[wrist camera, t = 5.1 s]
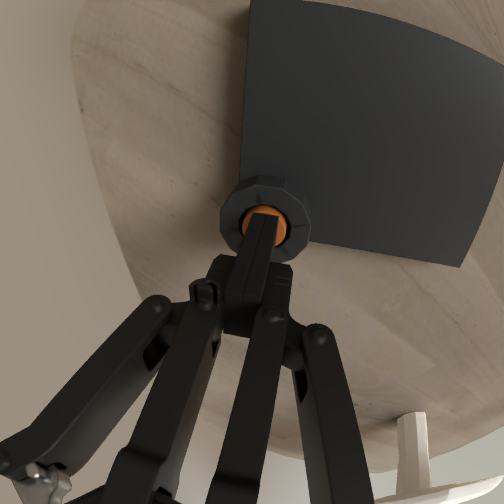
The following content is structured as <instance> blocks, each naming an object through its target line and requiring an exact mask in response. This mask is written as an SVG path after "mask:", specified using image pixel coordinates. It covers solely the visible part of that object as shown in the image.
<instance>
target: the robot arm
mask: <svg viewBox="0 0 504 504" xmlns="http://www.w3.org/2000/svg"><path fill="white" fill-rule="evenodd" d="M278 221H279V216H276V215H269V214H262V213H256V212H253V213H252V216H251V219H250V221H249V224H248V227H247V229H246V232H245V235H244V237H243V240H242V243H241V245H240V248H239V251H238V253H237V256H236V257H235V256H229V255H223V254H220V255H219V256H217V257H216V258H215V259H214V260H213V262H212V264H211V267H210V269H209V271H208V273H207V275H206V277H205V278H201V279H197V280H195V281H193V282H192V283H191V284H190V285H189V293H190V300H189V301H186V302H177V303H171V302H170V300H169V299H168V298H167V297H166V296H163V295H153V296H150V297H148V298H146V299H145V300H144V301H143V302H142V303H141V304H140V305H139V306H138V307H137V308H136V309H135V310H134V311H133V312H132V314H130V315H129V317H128V318H126V320H125V321H124V322H123V323H122V324H121V325H120V326H119V327H118V328H117V329H116V330H115V331H114V332H113V333H112V334H111V335H110V336H109V337H108V338H107V340H106V341H105V342H104V343H103V344H102V345H101V346H100V347H99V348H98V349H97V350H96V352H94V354H93V355H92V356H91V357H90V358H89V359H88V360H87V361H86V362H85V363H84V365H82V367H81V368H80V369H79V370H78V371H77V372H76V373H75V374H74V375H73V377H72V378H71V379H70V380H69V381H68V382H67V383H66V384H65V386H64V387H63V388H62V389H61V390H60V391H59V392H58V393H57V395H56V396H55V397H54V398H53V399H52V400H51V402H50V403H49V404H48V405H47V406H46V407H45V409H44V410H43V411H42V412H41V413H40V414H39V416H38V417H37V418H36V419H35V420H34V421H33V422H32V424H31V425H30V426H29V427H27V428H25V429H23V430H22V431H20V432H18V433H16V434H14V435H13V436H11V437H9V438H7V439H5V440H3V441H1V442H0V474H1V475H3V476H5V477H7V478H9V479H11V481H12V483H13V485H14V487H15V489H16V491H17V493H18V495H19V497H20V499H21V501H22V502H23V504H61V503H62V499H63V497H64V496H65V495H66V494H67V493H68V492H69V491H71V489H72V484H71V482H70V478H69V477H71V476H72V475H74V474H75V473H77V472H78V471H79V470H80V469H81V468H82V467H83V466H84V465H85V464H86V463H87V462H88V461H89V459H90V458H91V457H92V456H93V454H94V453H95V452H96V450H97V449H98V448H99V446H100V445H101V444H102V443H103V441H104V440H105V439H106V438H107V436H108V435H109V434H110V432H111V431H112V429H114V427H115V426H116V425H117V423H118V422H119V421H120V419H121V418H122V417H123V415H124V414H125V413H126V412H127V410H128V409H129V408H130V406H131V405H132V404H133V403H134V401H135V400H136V399H137V398H138V396H139V395H140V394H141V392H142V391H143V390H144V389H145V387H146V386H147V385H148V383H149V382H150V381H151V380H152V378H153V377H154V376H155V374H156V373H157V372H158V374H157V376H156V378H155V381H154V383H153V385H152V388H151V390H150V393H149V395H148V397H147V400H146V402H145V405H144V407H143V409H142V412H141V414H140V417H139V419H138V421H137V424H136V426H135V429H134V431H133V434H132V436H131V439H130V441H129V443H128V445H127V446H126V447H124V448H122V449H121V450H120V451H119V452H118V454H117V456H116V458H115V461H114V463H113V466H112V468H111V471H110V473H109V476H108V478H107V481H106V484H105V485H102V486H100V487H98V488H96V489H94V490H92V491H90V492H88V493H86V494H85V495H82V496H80V497H78V498H76V499H74V500H71V501H69V502H67V503H65V504H181V503H179V502H177V501H176V500H174V499H175V496H176V492H177V489H178V485H179V475H180V471H181V467H182V464H183V461H184V458H185V455H186V452H187V448H188V445H189V442H190V439H191V436H192V432H193V429H194V426H195V423H196V419H197V416H198V413H199V410H200V407H201V404H202V401H203V397H204V394H205V391H206V388H207V385H208V382H209V378H210V375H211V372H212V369H213V366H214V363H215V359H216V356H217V353H218V350H219V347H220V344H221V333H222V330H223V333H225V334H230V335H235V336H241V337H246V338H250V341H249V345H248V349H247V353H246V357H245V361H244V365H243V369H242V373H241V377H240V381H239V385H238V389H237V392H236V396H235V400H234V404H233V408H232V412H231V416H230V420H229V423H228V427H227V431H226V435H225V439H224V442H223V446H222V450H221V454H220V457H219V461H218V465H217V469H216V472H215V474H214V477H213V479H212V481H211V484H210V488H209V491H208V495H207V498H206V502H205V504H256V503H257V499H258V494H259V487H260V479H261V474H262V469H263V464H264V459H265V454H266V449H267V444H268V439H269V433H270V428H271V422H272V417H273V411H274V405H275V399H276V393H277V387H278V381H279V375H280V369H281V365H283V366H285V367H287V368H289V369H291V370H292V377H293V384H294V390H295V397H296V403H297V410H298V417H299V423H300V430H301V437H302V444H303V451H304V458H305V466H306V473H307V480H308V488H309V495H310V503H311V504H375V503H374V497H373V492H372V487H371V482H370V477H369V472H368V467H367V463H366V458H365V454H364V449H363V445H362V440H361V436H360V432H359V427H358V423H357V419H356V415H355V411H354V407H353V403H352V399H351V395H350V391H349V387H348V383H347V380H346V376H345V372H344V369H343V365H342V361H341V358H340V354H339V350H338V347H337V343H336V340H335V336H334V334H333V332H332V330H331V329H330V328H328V327H327V326H325V325H323V324H317V323H315V324H310V325H308V326H307V327H306V326H304V325H301V324H299V323H298V322H296V321H295V320H294V319H292V317H291V316H290V314H289V301H290V293H291V286H292V277H293V271H292V269H291V266H290V265H288V264H282V263H276V262H273V257H274V251H275V244H276V236H277V229H278Z"/></svg>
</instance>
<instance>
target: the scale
mask: <svg viewBox="0 0 504 504" xmlns="http://www.w3.org/2000/svg"><path fill="white" fill-rule="evenodd" d="M503 162H504V66H503V65H502V64H500V63H498V62H496V61H494V60H493V59H491V58H489V57H487V56H485V55H483V54H481V53H479V52H477V51H475V50H473V49H471V48H469V47H467V46H465V45H463V44H460V43H458V42H456V41H454V40H451V39H449V38H447V37H444V36H442V35H439V34H437V33H434V32H431V31H429V30H426V29H423V28H421V27H418V26H415V25H412V24H409V23H406V22H402V21H399V20H396V19H393V18H389V17H385V16H382V15H378V14H374V13H370V12H366V11H362V10H357V9H352V8H347V7H342V6H337V5H331V4H325V3H318V2H311V1H302V0H251V3H250V15H249V29H248V42H247V57H246V71H245V86H244V102H243V119H242V136H241V154H240V173H239V183H238V184H237V185H236V187H235V188H234V190H233V191H232V192H231V194H230V195H229V196H228V198H227V199H226V201H225V203H224V205H223V206H222V208H221V210H220V233H221V234H222V236H223V238H224V239H225V241H226V243H227V244H228V246H229V248H230V249H232V251H234V252H236V253H238V251H239V248H240V245H241V243H242V240H243V237H244V234H243V230H242V225H243V221H244V219H245V216H246V214H247V211H248V209H249V208H250V207H252V206H255V205H258V204H266V205H272V206H275V207H276V208H278V209H279V210H280V211H282V212H283V213H285V214H286V216H287V218H288V222H287V228H286V234H285V237H284V239H283V240H282V242H281V243H279V244H278V245H276V246H275V251H274V257H273V262H276V263H282V262H286V261H289V260H292V259H294V258H295V257H296V256H297V255H298V254H299V253H300V252H301V251H302V250H303V249H304V248H305V247H306V246H307V244H308V242H309V241H311V242H317V243H323V244H329V245H335V246H341V247H347V248H353V249H359V250H365V251H370V252H376V253H382V254H387V255H393V256H399V257H404V258H410V259H415V260H421V261H426V262H431V263H437V264H442V265H447V266H453V267H458V268H460V266H461V264H462V262H463V260H464V258H465V256H466V254H467V252H468V250H469V248H470V246H471V244H472V242H473V240H474V238H475V235H476V233H477V231H478V229H479V226H480V224H481V222H482V219H483V217H484V215H485V212H486V210H487V207H488V205H489V202H490V199H491V197H492V194H493V191H494V189H495V186H496V183H497V180H498V177H499V174H500V171H501V168H502V165H503Z"/></svg>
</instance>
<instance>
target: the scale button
mask: <svg viewBox="0 0 504 504" xmlns="http://www.w3.org/2000/svg"><path fill="white" fill-rule="evenodd" d="M253 212H256V213H262V214H269V215H276V216H279V221H278V229H277V236H276V244H275V246H276V245H278V244H279V243H281V242H282V240H283V239H284V237H285V234H286V228H287V222H288V218H287V216H286V214H285V213H283V212H282V211H280V210H279V209H278V208H276V207H275V206H272V205H266V204H258V205H255V206H252V207H250V208H249V209H248V211H247V214H246V216H245V219H244V221H243V225H242V230H243V234H244V235H245V232H246V229H247V227H248V224H249V221H250V219H251V216H252V213H253Z"/></svg>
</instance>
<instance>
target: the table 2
mask: <svg viewBox="0 0 504 504" xmlns="http://www.w3.org/2000/svg"><path fill="white" fill-rule="evenodd" d="M397 432H398V450H399V462H398V473H397V486H396V495H392V496H387V497H384V498H380V499H376V500H374V503H375V504H458V503H461V502H464V501H467V500H470V499H472V498H475V497H478V496H480V495H483V494H486V493H488V492H489V491H491V490H492V489H494V488H495V487H496V486H497V485H498V484H499V483H500V482H501V481H502V479H503V476H504V475H501V476H497V477H492V478H488V479H483V480H478V481H473V482H468V483H461V484H450V485H444V486H438V487H432V488H431V473H430V465H429V457H428V439H427V425H426V416H425V412H416V411H415V412H412V413H408V414H404V415H402V416H401V417H400V418H398V419H397Z"/></svg>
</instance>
